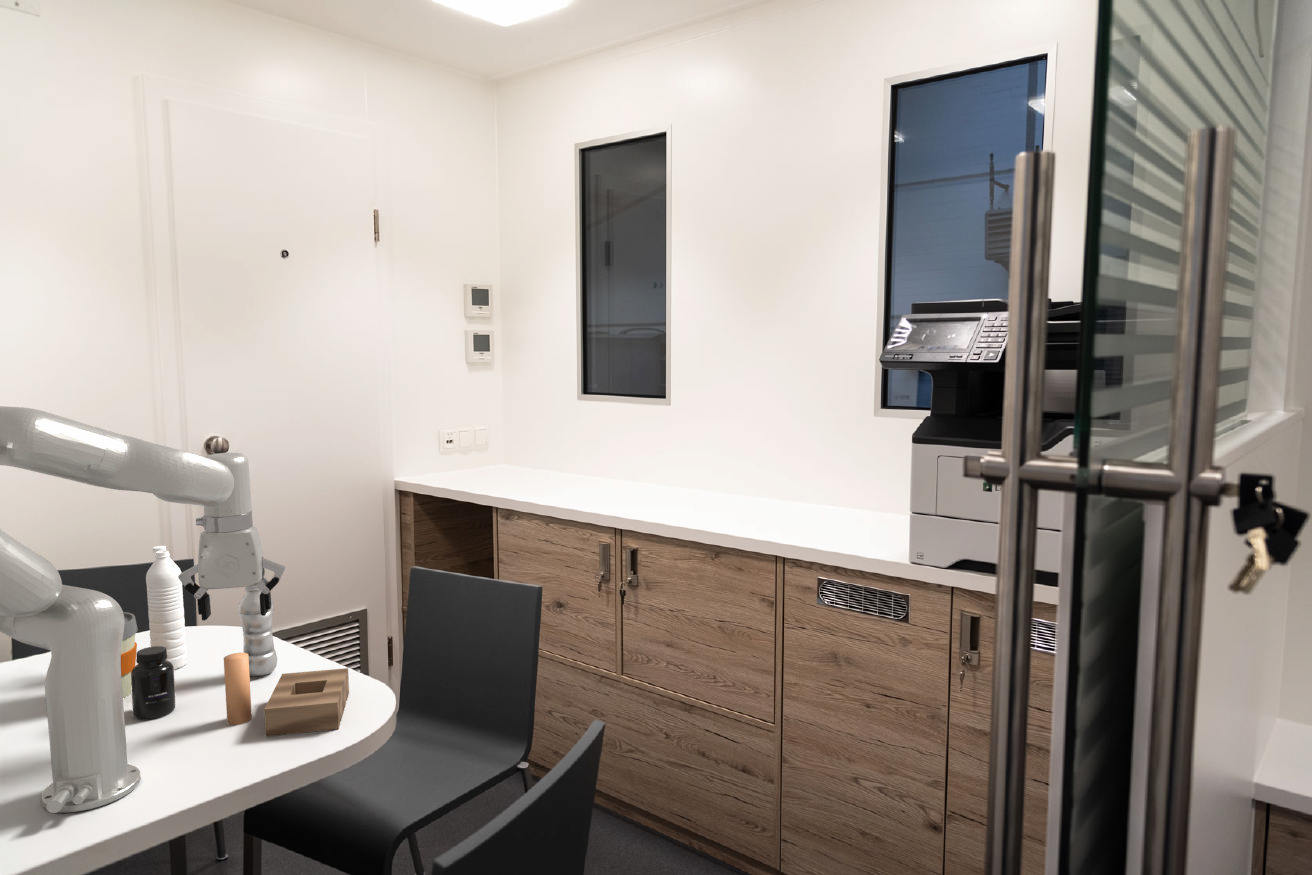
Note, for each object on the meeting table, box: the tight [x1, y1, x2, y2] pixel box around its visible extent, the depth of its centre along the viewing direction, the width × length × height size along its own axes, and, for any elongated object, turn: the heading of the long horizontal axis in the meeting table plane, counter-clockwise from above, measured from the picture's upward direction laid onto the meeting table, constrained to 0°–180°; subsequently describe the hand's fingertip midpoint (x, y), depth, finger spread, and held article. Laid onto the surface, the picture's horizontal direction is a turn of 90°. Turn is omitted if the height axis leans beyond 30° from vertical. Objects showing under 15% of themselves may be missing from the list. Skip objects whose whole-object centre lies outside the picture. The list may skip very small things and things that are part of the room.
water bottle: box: [145, 545, 188, 671], centre depth 176 cm, size 9×6×25 cm
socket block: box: [263, 667, 350, 737], centre depth 154 cm, size 16×12×5 cm
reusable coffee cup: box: [121, 611, 138, 699], centre depth 161 cm, size 13×13×15 cm
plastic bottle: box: [238, 585, 278, 677], centre depth 172 cm, size 6×7×20 cm
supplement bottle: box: [131, 646, 176, 721], centre depth 154 cm, size 7×7×12 cm
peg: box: [223, 652, 253, 726], centre depth 151 cm, size 4×4×12 cm
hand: (235, 615), depth 150 cm, fingers open, 9 cm apart
